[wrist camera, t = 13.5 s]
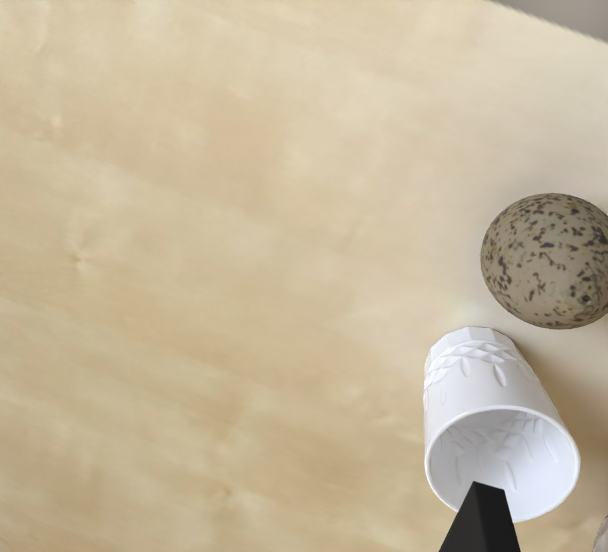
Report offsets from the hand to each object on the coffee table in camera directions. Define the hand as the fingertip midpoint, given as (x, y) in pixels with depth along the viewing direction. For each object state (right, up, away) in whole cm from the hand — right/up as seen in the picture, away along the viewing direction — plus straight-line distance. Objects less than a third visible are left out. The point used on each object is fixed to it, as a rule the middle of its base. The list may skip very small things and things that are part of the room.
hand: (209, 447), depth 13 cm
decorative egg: (+17, +7, +19) cm, 27 cm away
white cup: (+14, -2, +23) cm, 28 cm away
